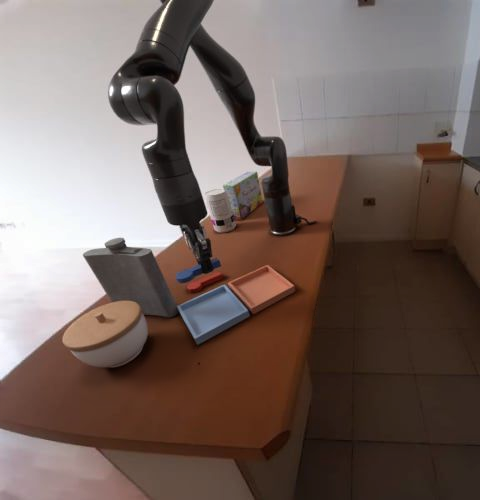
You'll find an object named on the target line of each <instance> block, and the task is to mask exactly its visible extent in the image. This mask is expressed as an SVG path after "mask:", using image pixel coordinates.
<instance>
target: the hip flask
mask: <svg viewBox="0 0 480 500" xmlns="http://www.w3.org/2000/svg"><path fill="white" fill-rule="evenodd" d="M82 257H83V258H84V260H85V261H86V263H87V265H88V267H89V268H90V270H91V271H92V273H93V275H94V276H95V278H96V279H97V281H98V283H99V284H100V286H101V288H102V289H103V291H104V293H105V294H106V295H107V297H108V299H109V300H110V303H112V302H117V301H133V302H136V303H138V304H139V306H140V307H141V309H142V313H143V315H144V316H146V315H147V316H159V317H164V318H173V317H175V316H177V315H178V314H179V313H180V312H179V310H178V308H177V306H178V305H177V303H176V300H175V298H174V296H173V294H172V291H171V289H170V287H169V285H168V282H167V281H166V278H165V277H164V274H163V273H162V272H163V271H162V270H161V268H160V265H159V263H158V261H157V260H156V257H155V255H154V252H153V250H152V249H151V248H146V247H136V246H134V247H133V246H127V244H126V240H125V238H124V237H114V238H112V239H109V240H107V241H105V242H104V247H98V248H93V249H89V250H87V251H85V252H84V253H82Z"/></svg>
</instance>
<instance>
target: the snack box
mask: <svg viewBox="0 0 480 500" xmlns="http://www.w3.org/2000/svg"><path fill="white" fill-rule="evenodd" d="M222 187H223V188H222V189H224V190H225V191H226V193H227V194H228V197H229V201H230V204H231V208H232V212H233V215H234V219H235V221H242V220H244V219H245V218H246V217H247V216H248V215H249V214H251V213H252V212H253V211H254V210H255V209H257V208H258V207H259V206H260V205H261V204H262V203H264V201H263V197H262V192H261V190H262V189H261V186H260V180H259V174H258V171H245V172H243V173H242V174H240V175H238V176H237V177H235V178H233V179H231V180H230V181H227V182H226V183H224V184H223V185H222Z"/></svg>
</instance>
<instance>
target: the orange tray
mask: <svg viewBox="0 0 480 500" xmlns="http://www.w3.org/2000/svg"><path fill="white" fill-rule="evenodd" d="M227 286H228V288H229V290H230V291H231V292H232V293H233V294H234V295H235V296H236V297H237V298H238V300H239V301H240V302H241V303H242V304H243V305H244V306H245V307H246V309H247V310H248V312H249V313H251V314H252V315H255V314H257V313H258V312H261V311H263V310H265V309H266V308H267V307H270V306H271V305H273V304H275V303H277V302H279V301H281V300H282V299H284V298H286V297H288V296H290V295H291V294H293V293H295V292H296V286H295V285H294V284H293V283H292V282H290V281H289V280H288V279H287V278H285V277H284V276H283V275H282V274H280V272H278V271H276V269H274V268H272V267H271V266H270V265H268V264H265V265H264V266H262V267H259V268H258V269H255V270H253V271H251V272H249V273H246V274H244V275H242V276H240V277H238V278H236V279H233V280H231V281H229V282H227Z"/></svg>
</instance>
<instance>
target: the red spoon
mask: <svg viewBox="0 0 480 500" xmlns="http://www.w3.org/2000/svg"><path fill="white" fill-rule="evenodd" d="M222 279H224V276H223V273H222V272H221V271H217V272H214V273H212V274H210V275H208V276H205V277H203V278H201V279H198V281H197V280H196V281H192V282H190V283H189V284H188V285H187V291H188V293H191V294H194V293H198V292H199V291H202V289H203V288H205V287H206V286H209V285H211V284H213V283H215V282H218V281H221V280H222Z"/></svg>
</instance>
